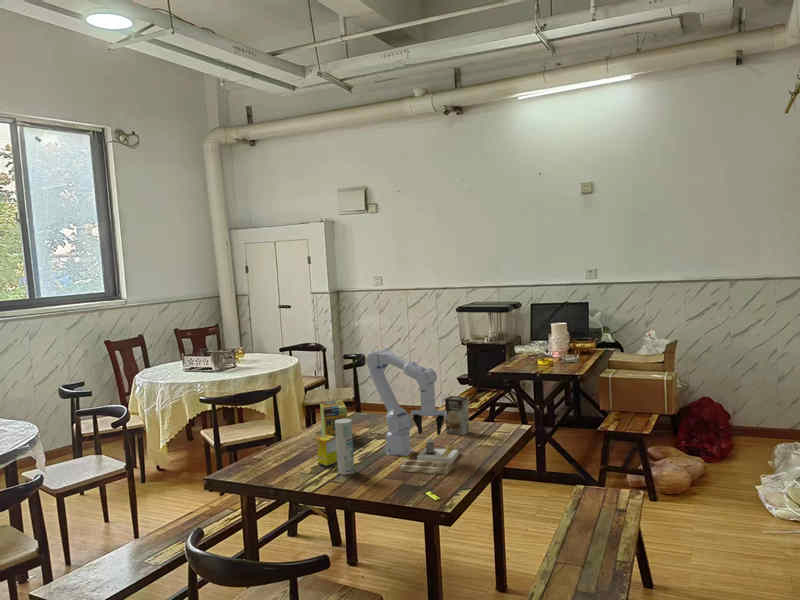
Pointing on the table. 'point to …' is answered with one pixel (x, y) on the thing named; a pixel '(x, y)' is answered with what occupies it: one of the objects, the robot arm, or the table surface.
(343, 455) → the spray can
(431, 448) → the stepped metal cylinder
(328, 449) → the supplement box
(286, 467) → the table surface
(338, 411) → the protein box
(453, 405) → the coffee box
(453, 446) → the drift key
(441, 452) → the socket block
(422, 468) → the rack
